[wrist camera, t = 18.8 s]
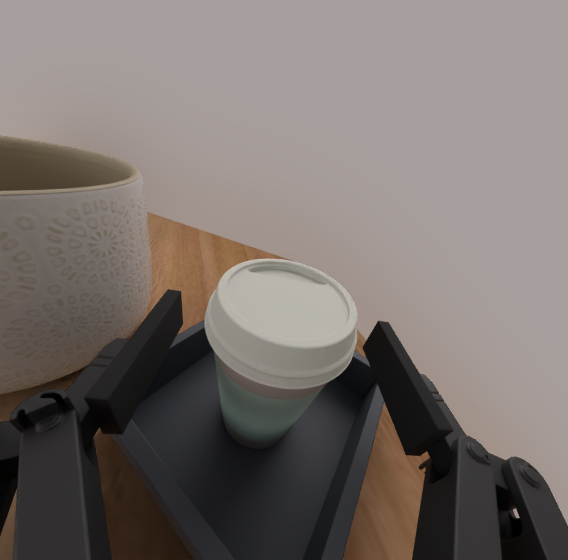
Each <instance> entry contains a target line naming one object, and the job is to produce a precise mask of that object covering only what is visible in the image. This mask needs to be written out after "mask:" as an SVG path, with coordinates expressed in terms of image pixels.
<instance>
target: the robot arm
mask: <svg viewBox="0 0 568 560" xmlns="http://www.w3.org/2000/svg"><path fill="white" fill-rule="evenodd" d="M182 325H183V315H182V300H181V291H175V290H169V289H168V290H167V291H166V293H165V294H164V295H163V296H162V298H161V299H160V300H159V302H158V303H157V304H156V305H155V307H154V308H153V309H152V311H151V312H150V313H149V314H148V316H147V317H146V318H145V320H144V321H143V322H142V323H141V325H140V326H139V327H138V329H137V330H136V331H135V332H134V334H133V335H132V336H131V338H130V339H121V338H116V339H115V340H113V341H112V342H110V343H109V344H107V345H106V346H104V348H103V349H102V350H101V351H100V352H99V353H98V354H97V356H96V358H94V359H93V360H92V361H91V363H90V364H89V366H87V367H86V368H85V369H84V371H83V372H82V373H81V374H80V375H79V376H78V377H77V379H76V380H75V381H74V382H73V383H72V384H71V385H70V387H69V388H68V389H67V390H66V391H63V390H61V389H48V390H44V391H41V392H38V393H36V394H34V395H32V396H30V397H29V398H27V399H26V400H24V401H23V402H22V403H20V404H19V405H18V406H17V408H16V409H15V410H14V411H13V412H12V414H11V416H10V419H9V420H8V421H4V422H0V535H1V532H2V529H3V526H4V524H5V521H6V518H7V515H8V512H9V509H10V506H11V503H12V501H13V498H14V495H15V492H16V489H17V501H16V518H15V534H14V551H13V560H112V557H111V550H110V543H109V537H108V530H107V523H106V516H105V510H104V503H103V496H102V489H101V483H100V476H99V469H98V463H97V456H96V449H95V442H94V439H93V437H94V435H95V434H96V432H97V431H98V429H99V427H100V429H101V431H102V433H103V434H117V435H123V433H124V431H125V429H126V427H127V426H128V424H129V422H130V420H131V418H132V416H133V415H134V413H135V411H136V409H137V407H138V405H139V404H140V402H141V400H142V398H143V396H144V394H145V393H146V391H147V389H148V387H149V385H150V383H151V382H152V380H153V378H154V376H155V374H156V372H157V371H158V369H159V367H160V365H161V363H162V361H163V359H164V358H165V356H166V354H167V352H168V350H169V348H170V347H171V345H172V343H173V341H174V339H175V337H176V336H177V334H178V332H179V330H180V328H181V326H182ZM363 350H364V352H365V355H366V357H367V360H368V362H369V365H370V367H371V369H372V372H373V374H374V377H375V379H376V382H377V384H378V387H379V389H380V392H381V394H382V397H383V399H384V402H385V404H386V407H387V409H388V412H389V414H390V416H391V419H392V421H393V424H394V426H395V429H396V431H397V434H398V436H399V439H400V441H401V444H402V446H403V449H404V451H405V454H406V455H413V456H421V455H422V454H423V453H425V452H426V451H427V452H428V454H429V456H430V458H429V459H427V460H426V461H425V462H423V463H422V464H420V466H419V469H420V470H422V469H423V468H425V467H426V472H425V479H424V485H423V492H422V498H421V505H420V511H419V518H418V524H417V531H416V537H415V544H414V550H413V557H412V560H568V526H567V523H566V521H565V519H564V517H563V515H562V513H561V511H560V509H559V507H558V505H557V503H556V501H555V499H554V497H553V494H552V493H551V491H550V488H549V486H548V485H547V483H546V481H545V480H544V478H543V477H542V476H541V475H540V473H539V472H538V471H537V470H536V469H535V468H534V467H533V466H531V465H530V464H529V463H528V462H526V461H525V460H523V459H521V458H518V457H511V458H509V459H507V460H504V459H501V458H499V457H497V456H495V455H492V454H490V453H488V452H487V451H486V449H485V448H484V447H483V446H482V445H481V444H480V443H479V442H477V441H476V440H475V439H473V438H471V437H470V436H466V434H465V433H464V431H463V430H462V428H461V427H460V425H459V424H458V422H457V421H456V419H455V417H454V416H453V414H452V413H451V411H450V409H449V408H448V406H447V405H446V403H444V400H443V398H442V397H441V395H439V392H438V391H437V389H436V387H435V386H434V384H433V383H432V382H431V381H430V380H429V379H428V378H427V377H426V376H425V375H423V374H419V372H418V370H417V369H416V367H415V365H414V364H413V362H412V360H411V359H410V357H409V355H408V354H407V352H406V351H405V349H404V347H403V346H402V344H401V342H400V341H399V339H398V337H397V336H396V334H395V332H394V331H393V329H392V327H391V326H390V324H389V323H388V322H383V321H378V322H377V324H376V326H375V327H374V329H373V331H372V332H371V334H370V336H369V337H368V339H367V341H366V342H365V344H364V346H363ZM515 508H516V509H517V512H518V514H519V517H520V518H516V517H515V515H514V512H513V509H515Z"/></svg>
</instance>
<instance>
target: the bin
mask: <svg viewBox="0 0 568 560" xmlns="http://www.w3.org/2000/svg"><path fill="white" fill-rule="evenodd" d="M204 322H205V320H203V321H201V322H199V323H198V324H196V325H194V326H192V327H191V328H189V329H187V330H185V331H184V332H182V333H180V334H178V335H177V336H176V337H175V339H174V341H173V343H172V345H171V347H170V348H169V350H168V352H167V354H166V356H165V358H164V359H163V361H162V363H161V365H160V367H159V369H158V371H157V372H156V374H155V376H154V378H153V380H152V382H151V383H150V385H149V387H148V389H147V391H146V393H145V394H144V396H143V398H142V400H141V402H140V404H139V405H138V407H137V409H136V411H135V413H134V415H133V416H132V418H131V420H130V422H129V424H128V426H127V427H126V429H125V431H124V433H123V435H117V434H110V435H111V436H112V438H113V439H114V441H115V442H116V444H117V445H118V447H119V448H120V450H121V451H122V453H123V454H124V456H125V457H126V459H127V460H128V462H129V463H130V465H131V466H132V468H133V469H134V471H135V472H136V474H137V475H138V477H139V478H140V480H141V481H142V483H143V484H144V486H145V487H146V489H147V490H148V492H149V493H150V495H151V496H152V498H153V500H154V501H155V503H156V504H157V506H158V507H159V509H160V510H161V512H162V513H163V515H164V516H165V518H166V519H167V521H168V522H169V524H170V525H171V527H172V528H173V530H174V531H175V533H176V534H177V536H178V537H179V539H180V540H181V542H182V543H183V545H184V546H185V548H186V549H187V551H188V552H189V554H190V555H191V557H192V558H193V560H342V558H343V554H344V550H345V547H346V543H347V539H348V535H349V532H350V528H351V524H352V520H353V517H354V513H355V509H356V505H357V502H358V498H359V494H360V490H361V486H362V483H363V479H364V475H365V471H366V468H367V464H368V460H369V456H370V453H371V449H372V445H373V441H374V438H375V434H376V430H377V426H378V423H379V419H380V415H381V411H382V408H383V404H384V399H383V397H382V394H381V392H380V389H379V387H378V384H377V382H376V379H375V377H374V374H373V372H372V369H371V367H370V365H369V362H368V360H367V358H366V357H364V356H362V355H361V354H359V353H358V352H356V351H354V354H353V357H352V359H351V362H350V363H349V365H348V366H347V368H346V369H345V370H344V371H343V372H342V373H341V374H340V375H339V376H337V377H336V378H335V379H333V380H331V381H329V382H327V384H326V385H325V386H324V387H323V389H322V390H321V391H320V392H319V394H318V395H317V396H316V397H315V399H314V400H313V401H312V402H311V404H310V405H309V406H308V407H307V409H306V410H305V411H304V412H303V414H302V415H301V416H300V417H299V419H298V420H297V421H296V422H295V423H294V425H293V426H292V427H291V428H290V430H289V431H288V432H287V433H286V434H285V436H284V437H283V438H282V439H281V440H280V441H279V442H277V443H276V444H274V445H272V446H270V447H267V448H262V449H253V448H248V447H245V446H243V445H241V444H239V443H238V442H237V441H235V440H234V439H233V438H232V437H231V435H230V434H229V433H228V431H227V429H226V427H225V424H224V421H223V415H222V409H221V402H220V394H219V386H218V379H217V371H216V363H215V356H214V350H213V348H212V347H211V345H210V343H209V341H208V338H207V335H206V332H205V323H204Z"/></svg>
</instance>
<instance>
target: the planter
mask: <svg viewBox="0 0 568 560" xmlns="http://www.w3.org/2000/svg"><path fill="white" fill-rule="evenodd" d="M151 288H152V266H151V252H150V242H149V233H148V222H147V212H146V202H145V193H144V185H143V179H142V174H141V172H140V171H139V170H138V169H137V168H136V167H134V166H133V165H131V164H129V163H127V162H124V161H121V160H119V159H116V158H112V157H109V156H105V155H102V154H99V153H95V152H90V151H86V150H82V149H77V148H72V147H67V146H62V145H57V144H51V143H45V142H40V141H34V140H27V139H21V138H14V137H7V136H0V394H4V393H9V392H14V391H19V390H23V389H27V388H31V387H34V386H38V385H41V384H44V383H47V382H50V381H53V380H56V379H58V378H61V377H64V376H66V375H68V374H71V373H73V372H75V371H77V370H80V369H82V368H84V367H86V366H87V365H89V364H90V363H91V361H92V360H93V359H94V358H96V356H97V354H98V353H99V352H100V351H101V350H102V349H103V348H104V346H106V345H107V344H109V343H110V342H112V341H113V340H115V339H116V338H121V339H126V338H127V337H128V336H129V335H130V334H131V333H132V332H133V331H134V330H135V328H136V327H137V326H138V325H139V323H140V322H141V320H142V319H143V317H144V315H145V313H146V311H147V308H148V305H149V302H150V297H151Z"/></svg>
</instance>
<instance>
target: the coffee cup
mask: <svg viewBox="0 0 568 560" xmlns="http://www.w3.org/2000/svg"><path fill="white" fill-rule="evenodd" d="M357 317H358V316H357V309H356V306H355V303H354V301H353V299H352V298H351V296H350V295H349V293H348V292H347V291H346V290H345V289H344V288H343V287H342V286H341V285H340V284H339V283H338V282H337V281H335V280H334V279H332V278H331V277H329V276H328V275H326V274H324V273H322V272H321V271H319V270H317V269H314V268H312V267H309V266H307V265H304V264H301V263H297V262H293V261H288V260H281V259H256V260H250V261H246V262H243V263H240V264H238V265H236V266H234V267H232V268H231V269H229V270H228V271H227V272H226V273H225V274H224V275H223V276H222V278H221V279H220V281H219V284H218V286H217V289H216V290H215V291H214V292H213V294H212V296H211V297H210V300H209V303H208V307H207V310H206V314H205V322H204V323H205V332H206V335H207V338H208V341H209V343H210V345H211V347H212V348H213V350H214V356H215V363H216V371H217V379H218V386H219V394H220V402H221V409H222V415H223V421H224V424H225V427H226V429H227V431H228V433H229V434H230V435H231V437H232V438H233V439H234V440H235V441H237V442H238V443H239V444H241V445H243V446H245V447H248V448H253V449H262V448H267V447H270V446H272V445H274V444H276V443H277V442H279V441H280V440H281V439H282V438H283V437H284V436H285V434H286V433H287V432H288V431H289V430H290V428H291V427H292V426H293V425H294V423H295V422H296V421H297V420H298V419H299V417H300V416H301V415H302V414H303V412H304V411H305V410H306V409H307V407H308V406H309V405H310V404H311V402H312V401H313V400H314V399H315V397H316V396H317V395H318V394H319V392H320V391H321V390H322V389H323V387H324V386H325V385H326V384H327V382H329V381H331V380H333V379H335V378H336V377H337V376H339V375H340V374H341V373H342V372H343V371H344V370H345V369H346V368H347V366H348V365H349V363H350V362H351V359H352V357H353V354H354V349H355V346H356V343H357V328H356V325H357Z"/></svg>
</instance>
